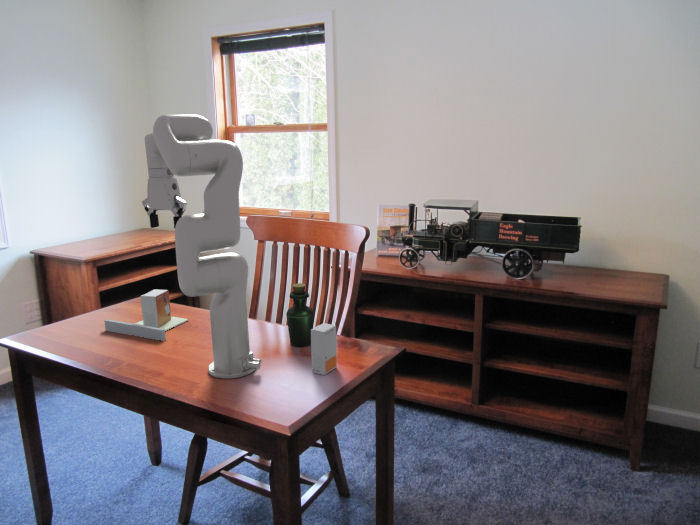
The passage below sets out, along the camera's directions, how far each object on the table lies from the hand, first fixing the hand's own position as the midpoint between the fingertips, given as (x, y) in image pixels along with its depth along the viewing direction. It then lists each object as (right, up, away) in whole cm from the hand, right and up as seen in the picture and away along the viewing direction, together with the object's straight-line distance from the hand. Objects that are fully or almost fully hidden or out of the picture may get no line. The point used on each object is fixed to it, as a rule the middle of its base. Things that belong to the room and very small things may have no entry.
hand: (166, 227), depth 177 cm
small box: (-5, -31, +5) cm, 32 cm away
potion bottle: (+44, -35, -12) cm, 58 cm away
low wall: (-9, -34, -3) cm, 35 cm away
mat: (-5, -32, +6) cm, 33 cm away
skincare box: (+52, -40, -31) cm, 72 cm away
